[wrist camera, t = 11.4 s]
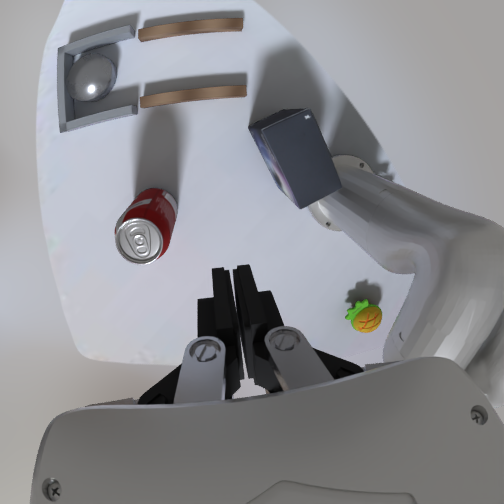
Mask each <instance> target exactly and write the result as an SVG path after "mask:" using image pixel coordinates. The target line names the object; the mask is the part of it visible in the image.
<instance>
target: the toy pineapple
mask: <svg viewBox="0 0 504 504" xmlns="http://www.w3.org/2000/svg"><path fill="white" fill-rule="evenodd" d="M347 312H348V314H347V315H346V316H345V319H347V320H351V324H352V326H353V328H354V329H355V330H357V331H360V332H363V333H368V332H372V331H374V330H375V329H377V328H378V326H379V325H380V323H381V320H382V311H381V309H380V308H379V307H378V306H377V305H374V304H368V300H367V299H365V300H363V301H362V302H360V301H357V302H356V303H355V307H354V308H349V309H348V310H347Z"/></svg>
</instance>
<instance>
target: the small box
mask: <svg viewBox="0 0 504 504" xmlns="http://www.w3.org/2000/svg"><path fill="white" fill-rule="evenodd" d="M248 129H249V131H250V133H251V135H252V137H253V139H254V141H255V143H256V145H257V147H258V149H259V151H260V153H261V155H262V156H263V159H264V161H265V163H266V165H267V166H268V168H269V170H270V172H271V174H272V176H273V178H274V180H275V182H276V184H277V186H278V188H279V189H280V190H281V191H282V192H283V193H284V194H285V195H286V196H287V197H288V198H289V199H290V200H291V201H292V202H293V203H294V204H295V205H296V206H297V207H298V208H299V209H302V208H305V207H307V206H309V205H311V204H313V203H314V202H316V201H318V200H320V199H322V198H324V197H326V196H328V195H330V194H332V193H334V192H336V191H338V190H339V189H341V188H343V187H342V184H341V181H340V178H339V176H338V173H337V170H336V168H335V165H334V163H333V160H332V158H331V155H330V152H329V150H328V148H327V145H326V143H325V141H324V138H323V136H322V133H321V131H320V129H319V126H318V124H317V122H316V120H315V118H314V116H313V113H312V111H311V109H310V108H305V109H290V110H285V109H283V110H281V111H279V112H278V113H275V114H273V115H271V116H269V117H267V118H264V119H263V120H261V121H258V122H256V123H254V124H253V125H251V126H249V127H248Z"/></svg>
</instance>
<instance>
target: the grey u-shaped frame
mask: <svg viewBox="0 0 504 504" xmlns="http://www.w3.org/2000/svg"><path fill="white" fill-rule="evenodd" d="M131 38H135V31H134V29H133V28H132V27H131V26H130V25H127V26H123V27H119V28H115V29H112V30H108V31H105V32H101V33H98V34H95V35H92V36H89V37H86V38H83V39H80V40H78V41H75V42H72V43H70V44H67V45H65V46H62V47H60V48H58V57H57V97H58V115H59V127H60V133H62V132H69V131H72V130H76V129H79V128H82V127H86V126H90V125H93V124H97V123H101V122H105V121H109V120H113V119H118V118H122V117H127V116H132V115H137V106H133V105H129V106H125V107H120V108H116V109H112V110H108V111H104V112H100V113H96V114H93V115H89V116H85V117H82V118H79V119H75V116H74V100H73V98H72V97H71V96H70V94H69V93H68V91H67V87H66V80H67V76H68V73H69V71H70V69H71V67H72V66H73V56H74V55H77V54H80V53H83V52H85V51H88V50H92V49H95V48H98V47H101V46H105V45H108V44H112V43H115V42H119V41H123V40H127V39H131Z"/></svg>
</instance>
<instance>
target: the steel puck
mask: <svg viewBox="0 0 504 504" xmlns="http://www.w3.org/2000/svg"><path fill="white" fill-rule="evenodd" d="M116 78H117V70H116V67H115V65H114V63H113V62H112V61H111V60H109V59H108V58H106V57H105V56H103V55H101V54H88V55H85V56H83V57H82V58H80V59H79V60H78V61H76V62H75V63H74V65H73V66H72V67H71V69H70V71H69V73H68V76H67V80H66V87H67V91H68V93H69V94H70V96H71V97H72V98H74V99H76V100H79V101H87V102H94V101H97V100H100V99H102V98H103V97H105V96H106V95H107V94H108V93H109V92H110V91H111V90H112V88H113V86H114V84H115V82H116Z"/></svg>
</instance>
